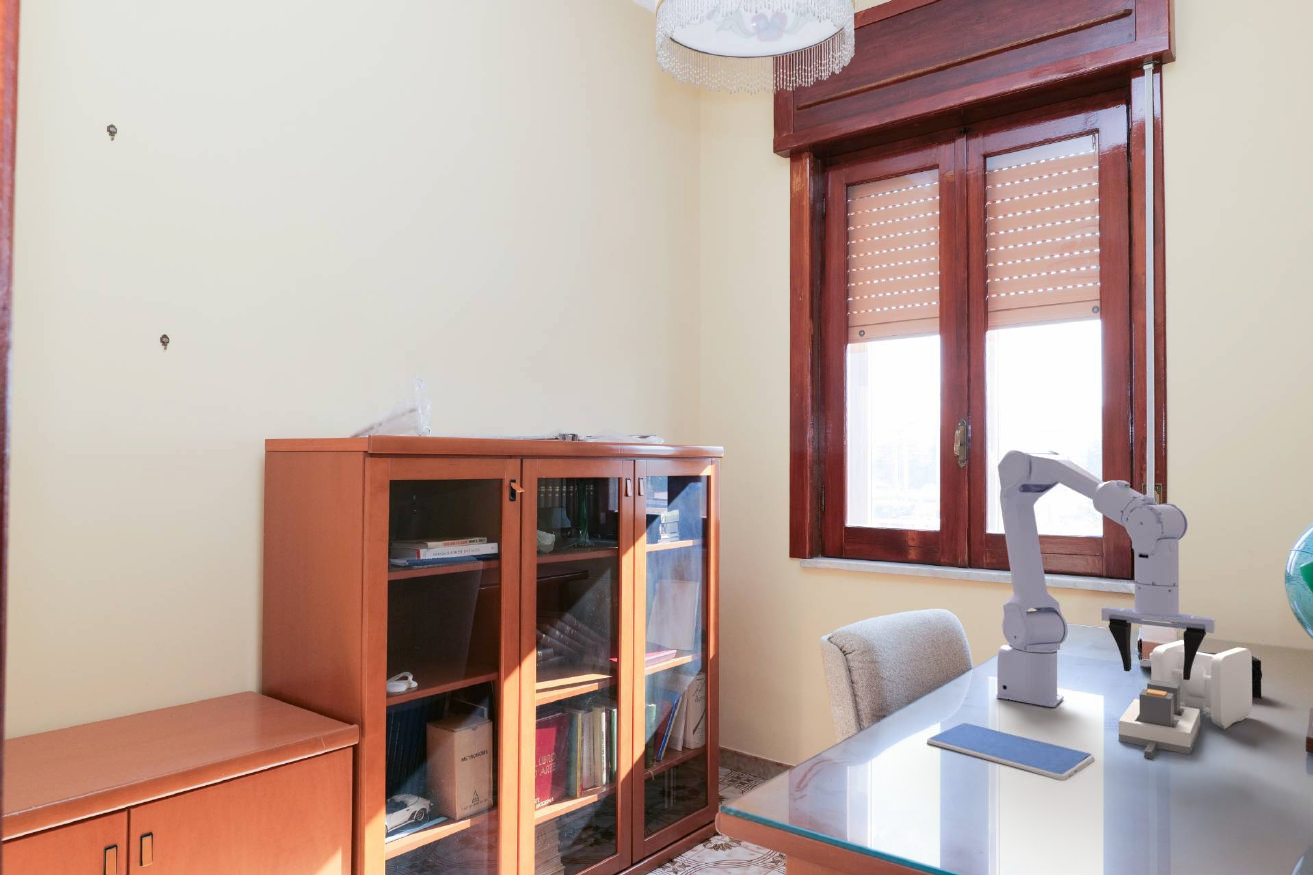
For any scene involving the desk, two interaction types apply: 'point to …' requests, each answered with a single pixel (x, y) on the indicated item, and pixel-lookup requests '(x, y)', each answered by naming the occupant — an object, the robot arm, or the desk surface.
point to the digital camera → (1253, 676)
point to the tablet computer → (1013, 750)
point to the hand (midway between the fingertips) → (1156, 674)
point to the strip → (1157, 735)
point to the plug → (1157, 707)
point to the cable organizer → (1209, 680)
